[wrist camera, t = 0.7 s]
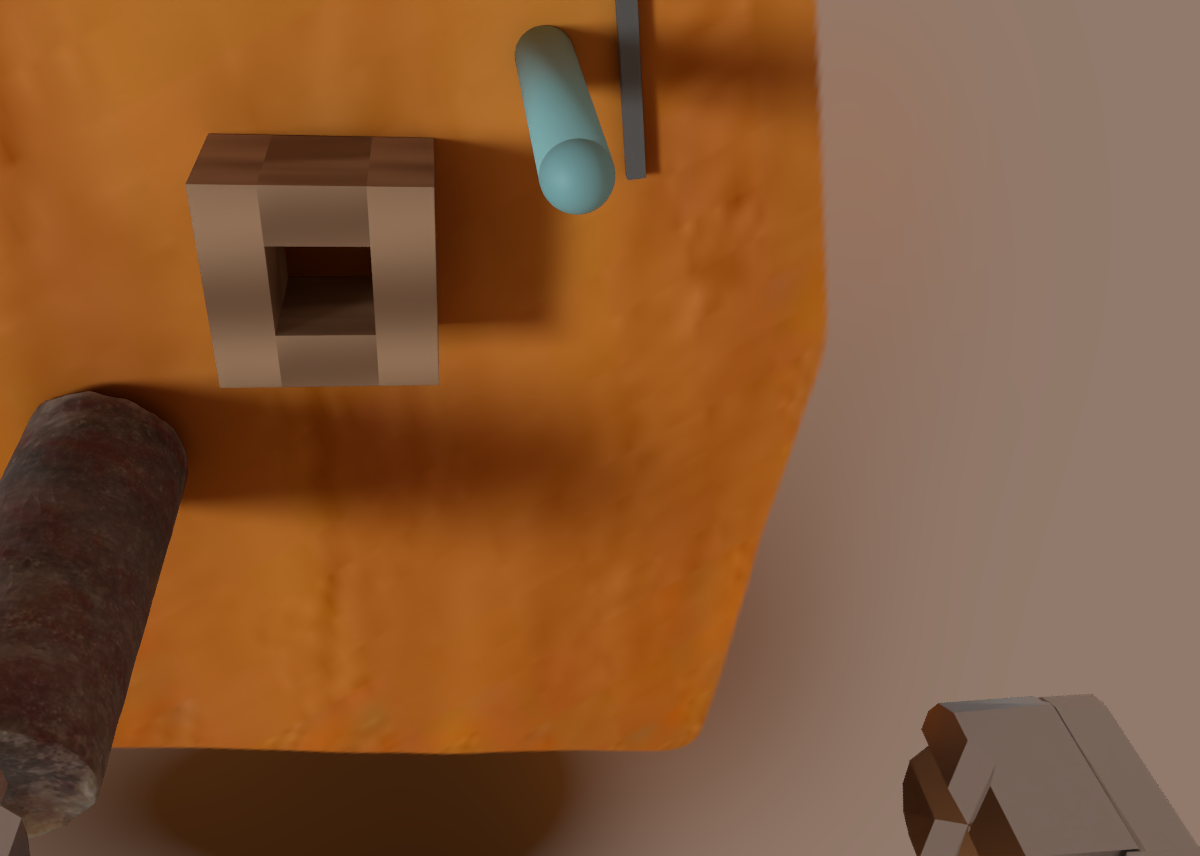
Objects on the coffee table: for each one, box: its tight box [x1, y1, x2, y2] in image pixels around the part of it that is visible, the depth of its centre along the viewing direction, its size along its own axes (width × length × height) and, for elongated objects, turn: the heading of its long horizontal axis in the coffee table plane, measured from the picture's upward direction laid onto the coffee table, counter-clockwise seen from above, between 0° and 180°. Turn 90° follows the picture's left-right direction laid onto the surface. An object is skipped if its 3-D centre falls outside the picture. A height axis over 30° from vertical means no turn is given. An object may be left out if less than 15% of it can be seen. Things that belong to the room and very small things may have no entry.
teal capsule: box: [515, 25, 615, 215], centre depth 38 cm, size 2×2×13 cm
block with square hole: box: [186, 134, 439, 388], centre depth 44 cm, size 9×9×5 cm
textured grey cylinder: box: [0, 391, 188, 838], centre depth 43 cm, size 8×7×20 cm
